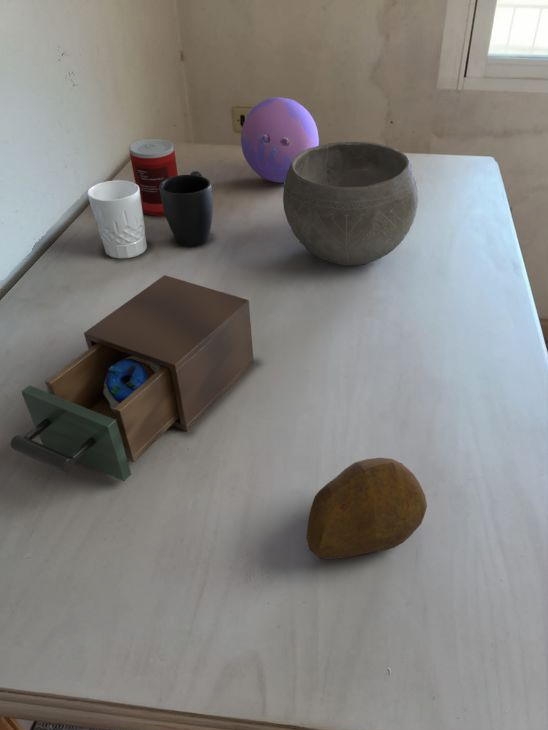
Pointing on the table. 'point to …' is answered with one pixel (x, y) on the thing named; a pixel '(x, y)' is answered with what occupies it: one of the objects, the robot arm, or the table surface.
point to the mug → (188, 207)
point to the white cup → (119, 217)
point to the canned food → (152, 171)
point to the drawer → (95, 416)
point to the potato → (365, 510)
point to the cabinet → (184, 340)
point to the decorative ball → (276, 137)
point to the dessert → (127, 378)
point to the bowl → (350, 200)
